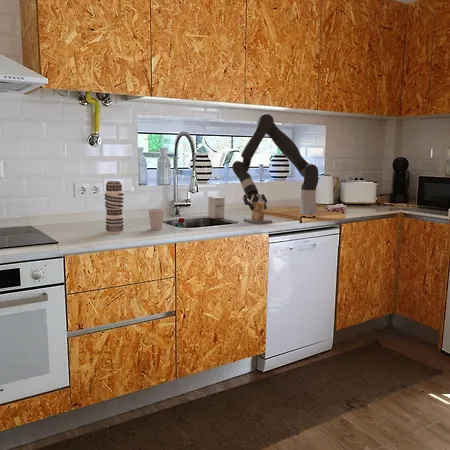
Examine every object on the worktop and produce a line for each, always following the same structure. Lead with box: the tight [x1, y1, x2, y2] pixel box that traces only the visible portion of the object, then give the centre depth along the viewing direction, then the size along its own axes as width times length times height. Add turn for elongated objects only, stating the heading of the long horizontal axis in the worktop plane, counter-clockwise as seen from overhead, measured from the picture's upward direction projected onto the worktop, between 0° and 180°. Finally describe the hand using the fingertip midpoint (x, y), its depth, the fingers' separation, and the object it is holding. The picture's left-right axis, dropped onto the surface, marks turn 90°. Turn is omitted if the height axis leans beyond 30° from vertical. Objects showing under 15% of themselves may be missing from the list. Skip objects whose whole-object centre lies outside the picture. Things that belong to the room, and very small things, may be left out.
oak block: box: [251, 201, 265, 220], centre depth 271 cm, size 5×5×10 cm
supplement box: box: [207, 196, 225, 220], centre depth 284 cm, size 7×7×13 cm
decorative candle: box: [104, 180, 125, 235], centre depth 227 cm, size 9×9×25 cm
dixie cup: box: [148, 208, 165, 231], centre depth 240 cm, size 8×8×10 cm
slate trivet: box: [243, 217, 273, 225], centre depth 272 cm, size 12×12×1 cm
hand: (259, 209), depth 269 cm, fingers open, 8 cm apart
